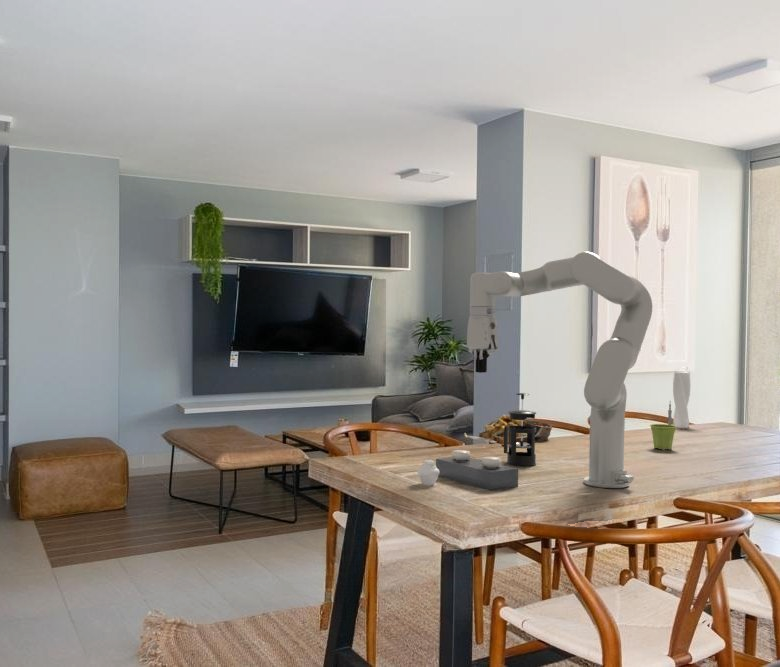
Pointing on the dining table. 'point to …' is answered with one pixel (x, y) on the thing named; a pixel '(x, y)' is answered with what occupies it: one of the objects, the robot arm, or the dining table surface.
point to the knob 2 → (491, 462)
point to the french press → (521, 457)
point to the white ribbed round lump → (428, 473)
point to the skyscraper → (680, 399)
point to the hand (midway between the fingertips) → (481, 372)
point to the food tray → (497, 431)
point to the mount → (477, 473)
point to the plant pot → (663, 435)
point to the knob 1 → (461, 455)
